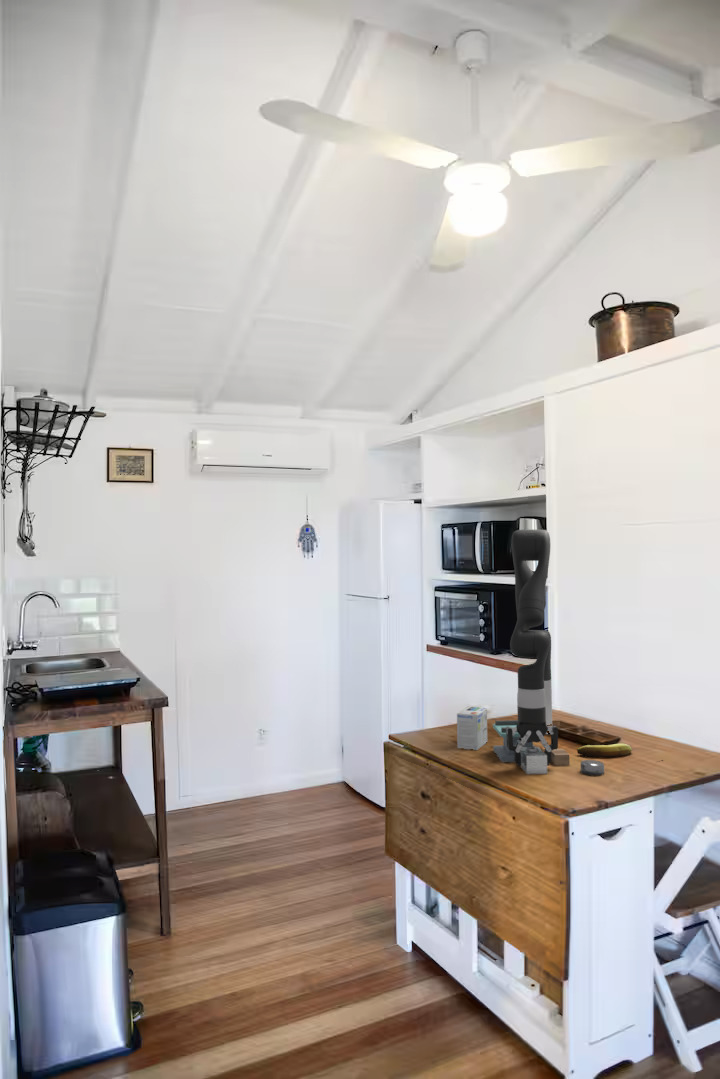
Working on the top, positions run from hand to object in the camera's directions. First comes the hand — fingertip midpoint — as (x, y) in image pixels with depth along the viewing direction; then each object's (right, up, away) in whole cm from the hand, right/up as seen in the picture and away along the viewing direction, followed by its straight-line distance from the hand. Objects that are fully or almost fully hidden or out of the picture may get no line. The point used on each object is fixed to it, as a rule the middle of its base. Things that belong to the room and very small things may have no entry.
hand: (532, 765), depth 200 cm
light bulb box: (-12, -2, +26) cm, 29 cm away
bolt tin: (+15, -1, -4) cm, 16 cm away
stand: (-1, -1, +13) cm, 13 cm away
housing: (0, -1, 0) cm, 1 cm away
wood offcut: (+9, -1, +6) cm, 11 cm away
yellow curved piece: (+25, -2, +13) cm, 28 cm away
